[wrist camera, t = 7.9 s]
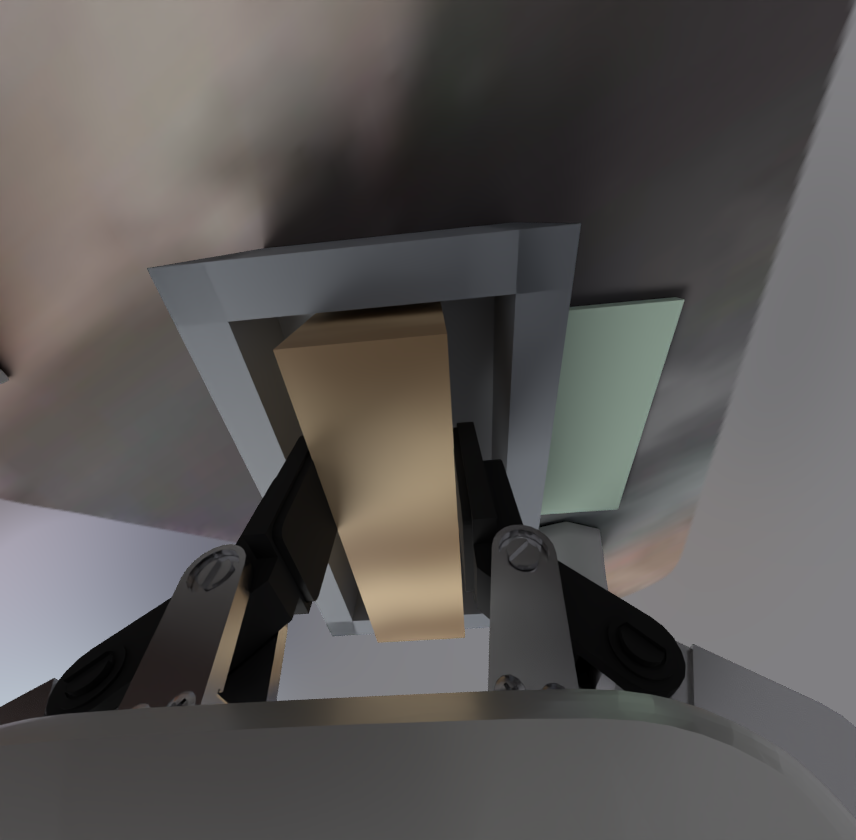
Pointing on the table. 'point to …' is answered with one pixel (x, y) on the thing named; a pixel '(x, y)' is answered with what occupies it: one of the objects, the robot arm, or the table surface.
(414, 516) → the oak bar
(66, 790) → the robot arm
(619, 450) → the mat
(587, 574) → the flask
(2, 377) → the skincare box
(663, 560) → the table surface
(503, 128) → the table surface
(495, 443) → the cradle
